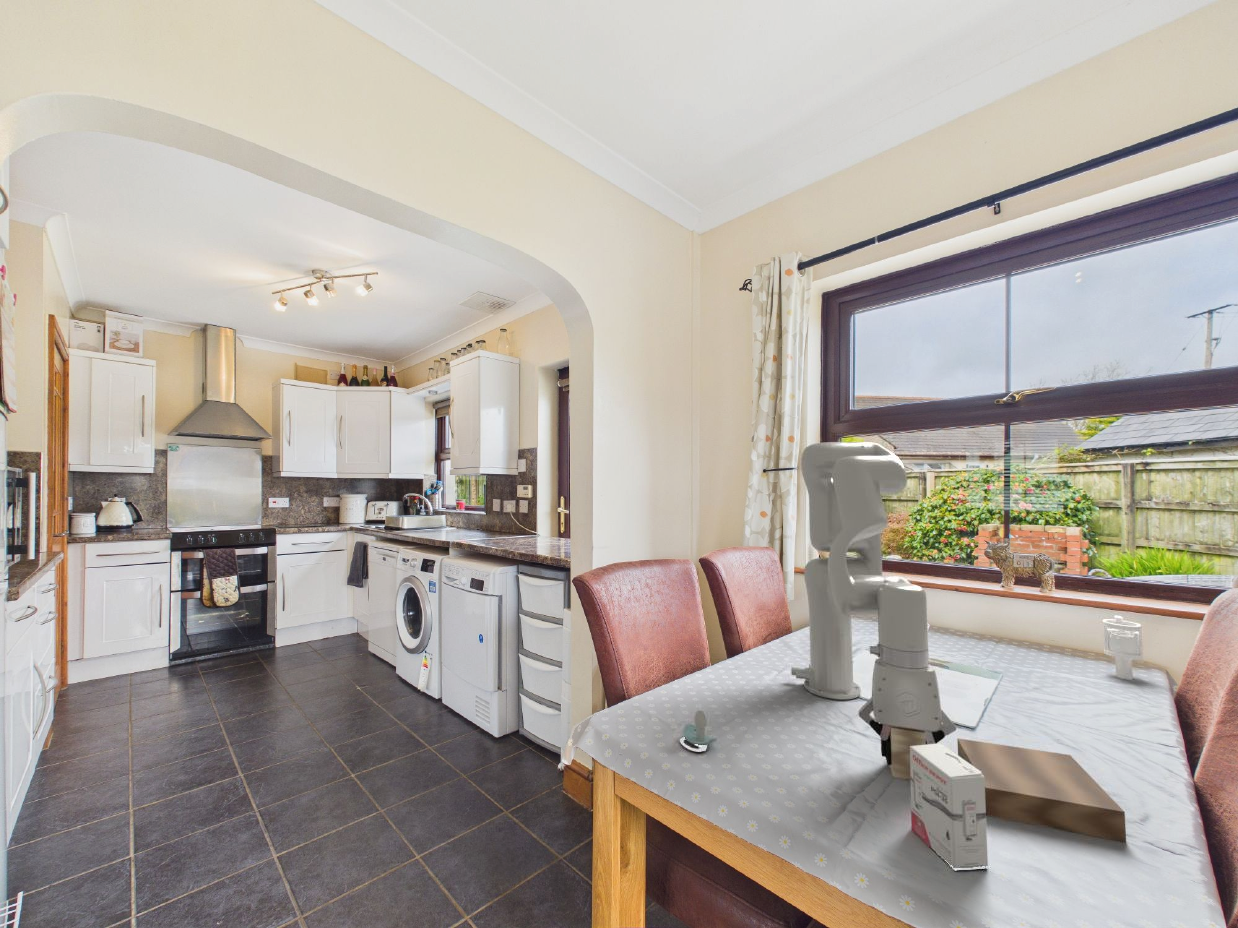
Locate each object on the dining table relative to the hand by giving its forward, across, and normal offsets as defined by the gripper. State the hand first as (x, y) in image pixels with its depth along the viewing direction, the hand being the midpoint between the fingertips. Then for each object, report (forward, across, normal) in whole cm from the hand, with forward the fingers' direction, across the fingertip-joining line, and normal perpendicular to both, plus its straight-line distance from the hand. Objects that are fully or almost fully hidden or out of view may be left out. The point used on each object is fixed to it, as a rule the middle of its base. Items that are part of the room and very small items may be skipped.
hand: (906, 762), depth 87 cm
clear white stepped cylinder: (+2, +59, +69) cm, 91 cm away
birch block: (+2, 0, 0) cm, 2 cm away
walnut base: (+2, +17, -1) cm, 17 cm away
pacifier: (+2, -36, -4) cm, 36 cm away
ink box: (+2, +2, -19) cm, 19 cm away
